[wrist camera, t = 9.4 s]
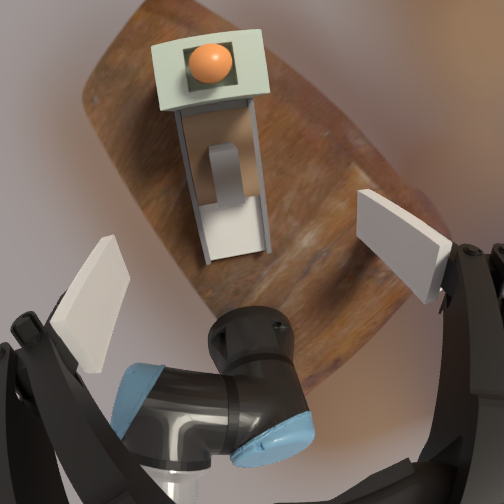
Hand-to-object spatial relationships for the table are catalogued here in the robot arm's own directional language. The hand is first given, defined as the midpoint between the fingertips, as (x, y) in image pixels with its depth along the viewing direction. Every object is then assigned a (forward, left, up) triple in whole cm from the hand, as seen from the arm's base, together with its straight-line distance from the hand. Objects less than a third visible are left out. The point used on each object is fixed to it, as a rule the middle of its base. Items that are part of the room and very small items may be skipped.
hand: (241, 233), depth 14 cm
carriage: (+1, 0, -20) cm, 20 cm away
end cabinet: (+10, 0, -22) cm, 24 cm away
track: (-3, 0, -22) cm, 22 cm away
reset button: (+10, 0, -11) cm, 15 cm away
